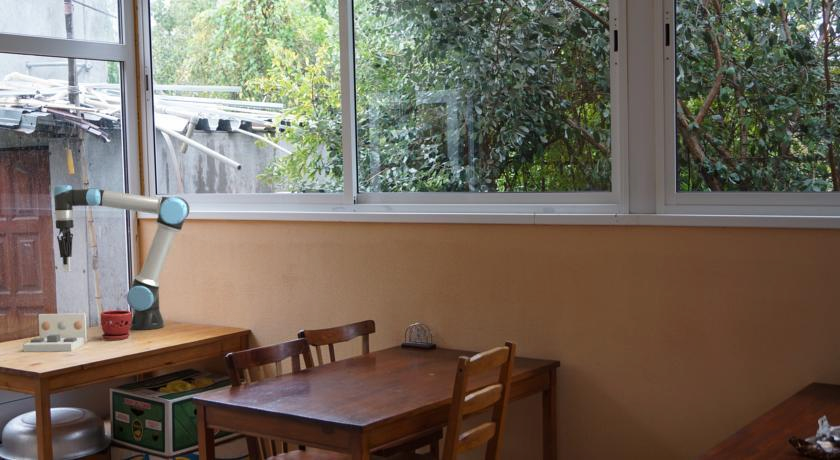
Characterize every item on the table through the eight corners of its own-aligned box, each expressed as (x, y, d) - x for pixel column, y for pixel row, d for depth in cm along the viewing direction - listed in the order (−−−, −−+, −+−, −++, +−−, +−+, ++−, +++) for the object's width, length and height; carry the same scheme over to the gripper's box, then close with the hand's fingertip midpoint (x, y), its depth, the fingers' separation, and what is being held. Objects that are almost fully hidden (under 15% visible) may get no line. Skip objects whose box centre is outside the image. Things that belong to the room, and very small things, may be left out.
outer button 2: (44, 345, 397) (43, 338, 397) (40, 346, 393) (40, 339, 393) (34, 345, 397) (34, 338, 397) (30, 346, 393) (30, 339, 393)
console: (83, 344, 402) (83, 337, 402) (71, 351, 388) (70, 343, 388) (37, 345, 403) (37, 338, 402) (23, 351, 389) (23, 344, 388)
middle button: (60, 341, 397) (60, 334, 397) (56, 343, 393) (56, 336, 393) (51, 341, 397) (50, 334, 397) (47, 343, 393) (46, 336, 393)
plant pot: (108, 342, 406) (107, 315, 405) (96, 338, 416) (95, 312, 415) (137, 338, 414) (136, 311, 414) (124, 334, 424) (123, 308, 423)
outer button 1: (77, 344, 397) (76, 337, 397) (73, 346, 393) (73, 339, 393) (67, 344, 397) (67, 337, 397) (63, 346, 393) (63, 339, 393)
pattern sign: (88, 342, 408) (87, 312, 407) (84, 344, 403) (82, 314, 402) (42, 342, 408) (41, 313, 407) (38, 345, 403) (36, 315, 402)
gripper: (61, 218, 428) (64, 270, 430) (50, 220, 415) (52, 273, 417) (77, 218, 428) (80, 269, 430) (67, 220, 415) (69, 273, 417)
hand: (66, 271), depth 423 cm, fingers closed
